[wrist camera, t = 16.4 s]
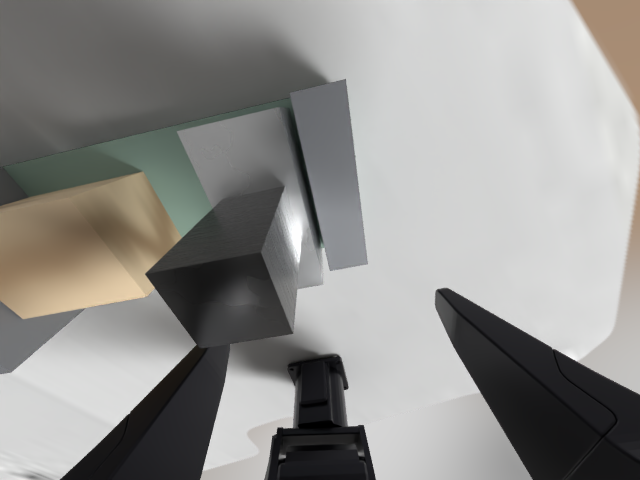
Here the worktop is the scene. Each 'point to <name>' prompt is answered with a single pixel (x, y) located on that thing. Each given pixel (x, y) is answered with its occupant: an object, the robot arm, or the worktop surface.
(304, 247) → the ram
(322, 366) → the robot arm
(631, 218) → the worktop surface
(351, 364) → the worktop surface
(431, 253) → the worktop surface
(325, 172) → the press frame
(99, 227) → the block
